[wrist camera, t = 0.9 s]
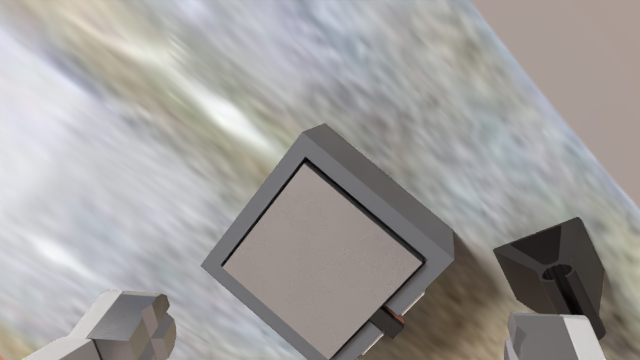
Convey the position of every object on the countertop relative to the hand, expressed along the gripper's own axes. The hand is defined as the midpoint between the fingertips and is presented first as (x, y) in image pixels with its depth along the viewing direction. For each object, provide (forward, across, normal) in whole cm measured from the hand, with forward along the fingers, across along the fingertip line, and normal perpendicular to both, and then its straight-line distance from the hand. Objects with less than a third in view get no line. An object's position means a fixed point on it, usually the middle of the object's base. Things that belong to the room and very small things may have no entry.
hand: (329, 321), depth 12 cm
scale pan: (+28, -5, -22) cm, 36 cm away
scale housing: (+37, -6, -24) cm, 44 cm away
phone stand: (+35, +16, -25) cm, 46 cm away
